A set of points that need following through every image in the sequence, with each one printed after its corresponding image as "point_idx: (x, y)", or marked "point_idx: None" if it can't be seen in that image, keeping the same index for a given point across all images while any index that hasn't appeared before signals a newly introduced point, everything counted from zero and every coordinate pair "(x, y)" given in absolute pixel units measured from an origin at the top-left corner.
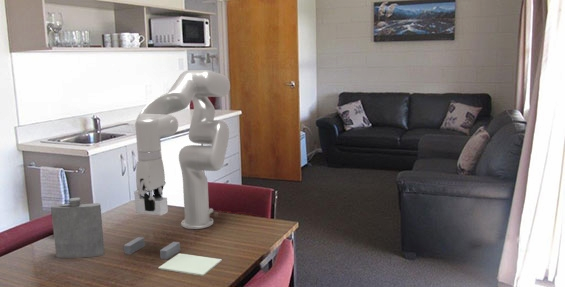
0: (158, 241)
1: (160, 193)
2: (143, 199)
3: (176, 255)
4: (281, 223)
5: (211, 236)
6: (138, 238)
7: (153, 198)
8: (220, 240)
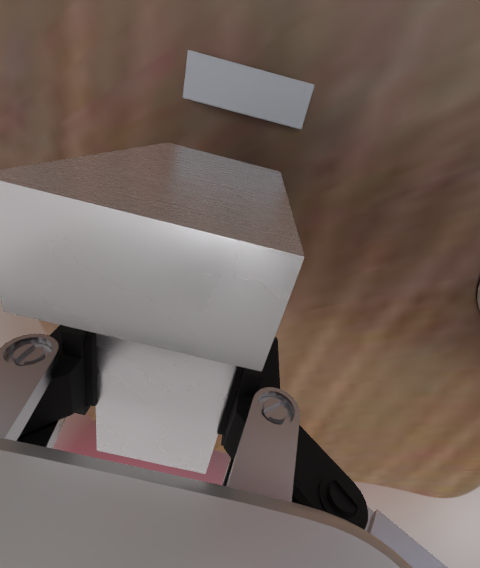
0: (351, 174)
1: (228, 466)
2: (31, 334)
3: None
4: (459, 480)
5: (382, 349)
6: (291, 97)
7: (158, 390)
8: (341, 376)
